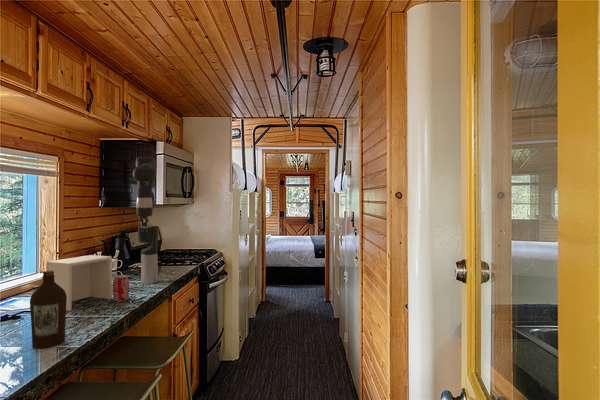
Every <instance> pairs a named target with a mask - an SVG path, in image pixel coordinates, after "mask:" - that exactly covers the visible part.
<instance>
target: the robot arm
mask: <svg viewBox="0 0 600 400" xmlns="http://www.w3.org/2000/svg"><path fill="white" fill-rule="evenodd" d="M156 170H157V160H156V158H155V157H152V156H137V157H136V158H135V168H134V169H133V171H132V178H133V180H135V181H136V183H137V188H136V216H137V217H138V223H137V224H138V225H137V226H138V230H137V231H138V232H137V237H138V242H139V243H142V244H147V243H149V244H150V243H151V244H150V245H149V246H148V247H145V248H142V249H141V250H140V266H141V267H140V280H141V281H140V283H141V284H142V285H151V284H152V285H153V284H157V283H158V282H159V280H158V275H159V273H158V272H159V271H158V269H159V266H158V264H159V262H158V253H159V252H158V250H159V249H158V247H159V245H158V242H159V240H158V239H159V229H158V228H157V227H154V226H152V227H151V226H149V223H150V221H149V219H148V218H149V217H152V216H153V210H154V207H155V193H154V192H153V186H154V185H153V184H154V181H155V179H156V175H157V173H156Z"/></svg>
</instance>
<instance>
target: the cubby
mask: <svg viewBox="0 0 600 400" xmlns="http://www.w3.org/2000/svg"><path fill="white" fill-rule="evenodd" d="M112 259H113V256H110V255H109V256H108V255H98V254H97V255H96V254H88V255H81V256H75V257H70V258H62V259H56V260H49V261H46V271H54V281H55V283H56V284H58V285H59V286H60V287H61V288H63V289H64V291H65V293H66V296H67V302H66V312H67V311H68V312H69V311H70V312H71V311H72V308H73V307H72V304H73V303H72V302H75V301H79V300H82V299H86V298H89V297H93V298H99V299H106V300H112V299H113V272H112V271H113V262H112V261H113V260H112Z"/></svg>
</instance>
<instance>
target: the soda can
mask: <svg viewBox="0 0 600 400" xmlns="http://www.w3.org/2000/svg"><path fill="white" fill-rule="evenodd" d="M129 296H130V281H129V277H128V275H126V274H118V275H115V276H114V278H113V279H112V299H113V300H114V301H115V302H117V303H118V302H119V303H121V302H125V301H127V300H128V299H129Z"/></svg>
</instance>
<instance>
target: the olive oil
mask: <svg viewBox="0 0 600 400" xmlns="http://www.w3.org/2000/svg"><path fill="white" fill-rule="evenodd" d="M42 274H43V275H42V283H41V284H40V285H39V286H38V287H37V288H36V290H35V291H33V293H32V295H31V296H30V300H29V311H30V324H31V325H30V326H31V344H32V345H31V346H32V347H33V348H34V349H48V348H52V347H56V346H60V345H61V344H63V343H64V342H65V340H66V318H67V317H66V316H67V315H66V314H67V310H66V302H67V296H66V293H65V291H64V289H63V288H61V287H60V286H59V285H58V284H56V283H55V281H54V271H47V270H46V271H45V270H44V271H43V272H42Z"/></svg>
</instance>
